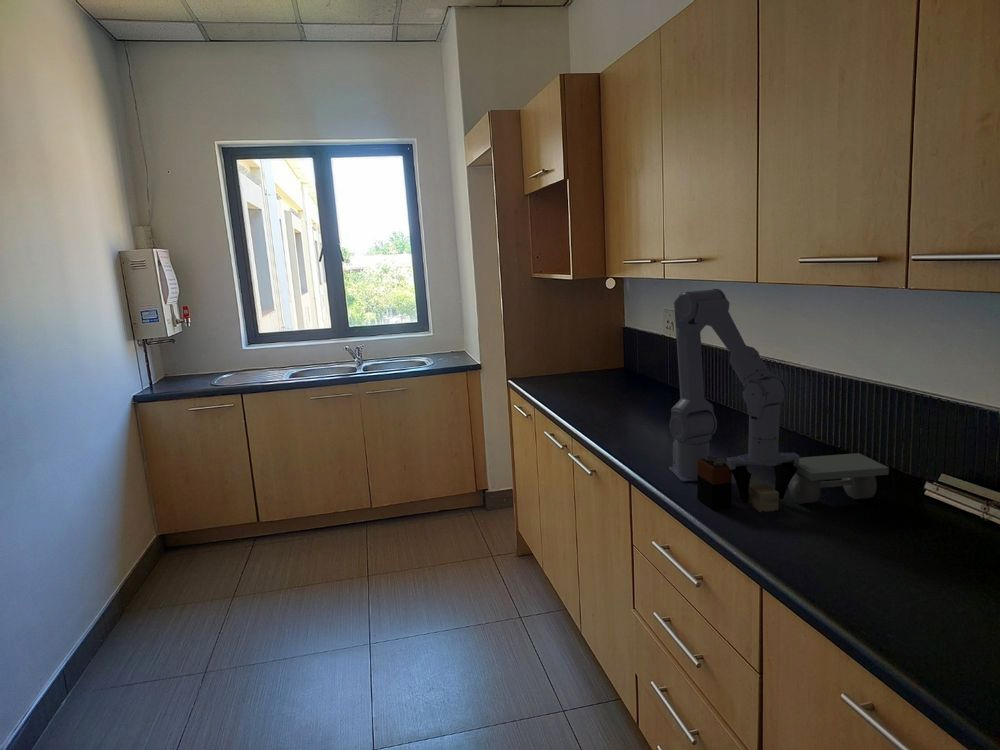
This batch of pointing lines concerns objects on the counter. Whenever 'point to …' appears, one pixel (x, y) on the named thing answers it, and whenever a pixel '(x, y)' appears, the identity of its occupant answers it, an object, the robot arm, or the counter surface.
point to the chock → (763, 497)
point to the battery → (714, 482)
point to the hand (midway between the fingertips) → (761, 499)
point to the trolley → (835, 476)
